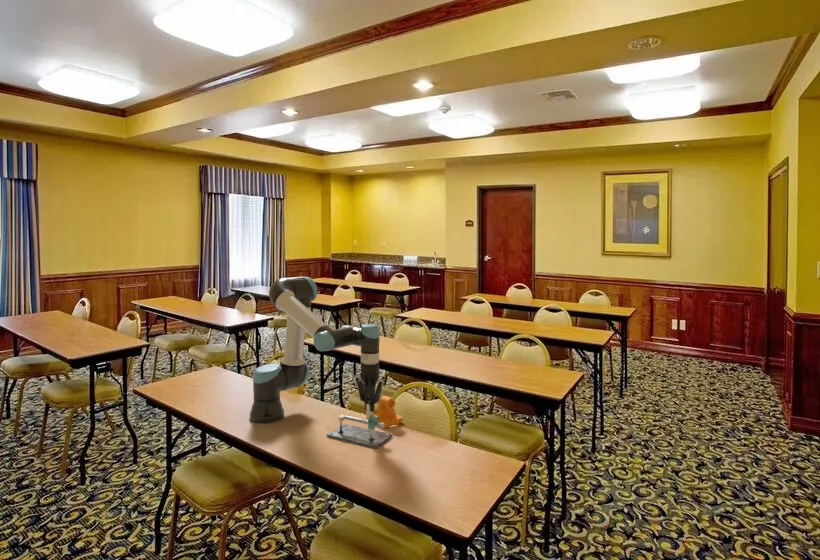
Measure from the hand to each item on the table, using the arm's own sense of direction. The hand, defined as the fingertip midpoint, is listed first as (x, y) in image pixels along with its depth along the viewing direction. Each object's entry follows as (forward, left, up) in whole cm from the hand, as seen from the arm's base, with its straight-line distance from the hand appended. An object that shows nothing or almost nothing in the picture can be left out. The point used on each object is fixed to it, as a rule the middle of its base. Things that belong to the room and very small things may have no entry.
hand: (369, 418), depth 196 cm
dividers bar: (-4, -1, -8) cm, 9 cm away
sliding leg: (+2, 0, -7) cm, 8 cm away
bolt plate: (-5, 0, -9) cm, 10 cm away
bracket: (-1, +18, -9) cm, 20 cm away
